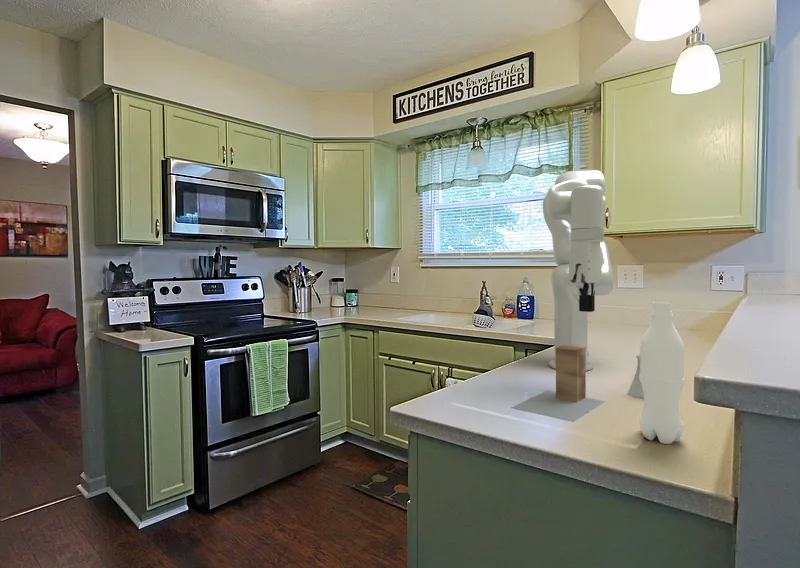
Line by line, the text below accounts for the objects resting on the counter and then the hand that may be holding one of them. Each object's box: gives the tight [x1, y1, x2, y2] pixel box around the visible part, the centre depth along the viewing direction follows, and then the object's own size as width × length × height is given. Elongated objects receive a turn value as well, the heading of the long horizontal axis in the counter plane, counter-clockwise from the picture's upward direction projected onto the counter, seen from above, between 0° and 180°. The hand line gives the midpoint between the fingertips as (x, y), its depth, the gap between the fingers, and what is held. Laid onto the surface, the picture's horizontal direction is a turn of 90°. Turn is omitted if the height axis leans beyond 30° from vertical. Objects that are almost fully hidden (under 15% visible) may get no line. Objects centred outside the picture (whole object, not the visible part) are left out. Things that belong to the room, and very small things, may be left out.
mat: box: [510, 390, 606, 423], centre depth 104 cm, size 18×14×1 cm
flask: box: [627, 354, 644, 400], centre depth 111 cm, size 7×7×10 cm
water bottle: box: [638, 301, 686, 445], centre depth 84 cm, size 7×7×25 cm
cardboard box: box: [555, 345, 587, 402], centre depth 109 cm, size 5×5×12 cm
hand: (586, 311), depth 115 cm, fingers closed
